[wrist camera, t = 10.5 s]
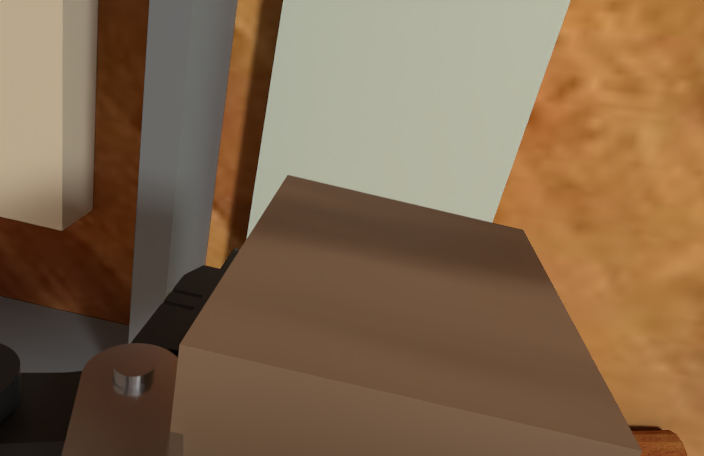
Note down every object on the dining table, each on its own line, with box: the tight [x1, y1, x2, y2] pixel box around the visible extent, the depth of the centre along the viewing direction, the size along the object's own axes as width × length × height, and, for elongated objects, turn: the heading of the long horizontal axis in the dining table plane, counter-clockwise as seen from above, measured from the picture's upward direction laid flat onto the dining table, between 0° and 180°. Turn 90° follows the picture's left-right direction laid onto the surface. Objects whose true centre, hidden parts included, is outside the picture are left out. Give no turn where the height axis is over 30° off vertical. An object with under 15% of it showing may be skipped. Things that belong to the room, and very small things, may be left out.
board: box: [247, 0, 570, 238], centre depth 27 cm, size 24×12×2 cm, turn 168°
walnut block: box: [170, 175, 642, 456], centre depth 9 cm, size 5×5×6 cm
